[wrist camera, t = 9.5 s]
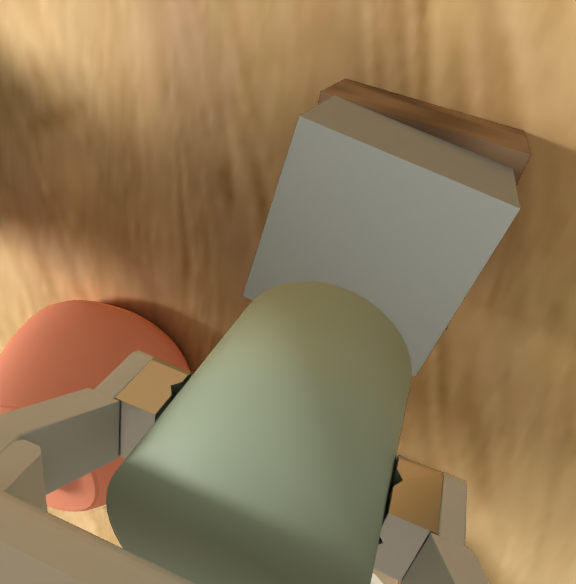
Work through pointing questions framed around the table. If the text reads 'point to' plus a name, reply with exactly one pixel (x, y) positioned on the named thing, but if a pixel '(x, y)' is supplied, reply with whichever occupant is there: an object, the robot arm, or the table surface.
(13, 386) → the teapot
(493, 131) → the bottom block
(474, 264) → the top block
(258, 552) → the pale green cylinder
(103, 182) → the table surface
